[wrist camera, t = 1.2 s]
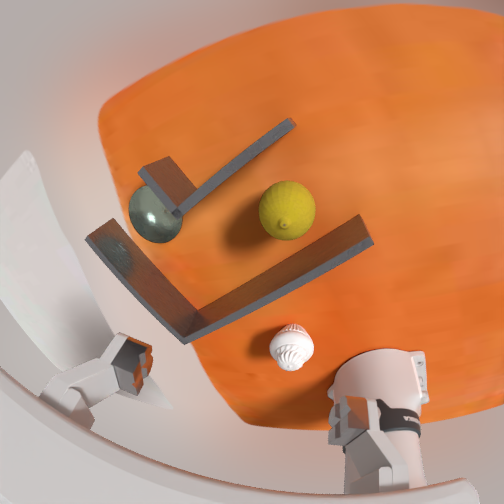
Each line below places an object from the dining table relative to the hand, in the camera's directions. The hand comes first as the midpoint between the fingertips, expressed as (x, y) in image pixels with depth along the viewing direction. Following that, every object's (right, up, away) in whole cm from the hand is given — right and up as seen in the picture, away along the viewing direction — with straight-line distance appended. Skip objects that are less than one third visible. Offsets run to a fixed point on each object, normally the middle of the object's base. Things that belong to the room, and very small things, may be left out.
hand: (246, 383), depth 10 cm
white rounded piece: (+6, -6, +29) cm, 31 cm away
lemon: (+4, +11, +20) cm, 24 cm away
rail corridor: (-3, +9, +23) cm, 25 cm away
